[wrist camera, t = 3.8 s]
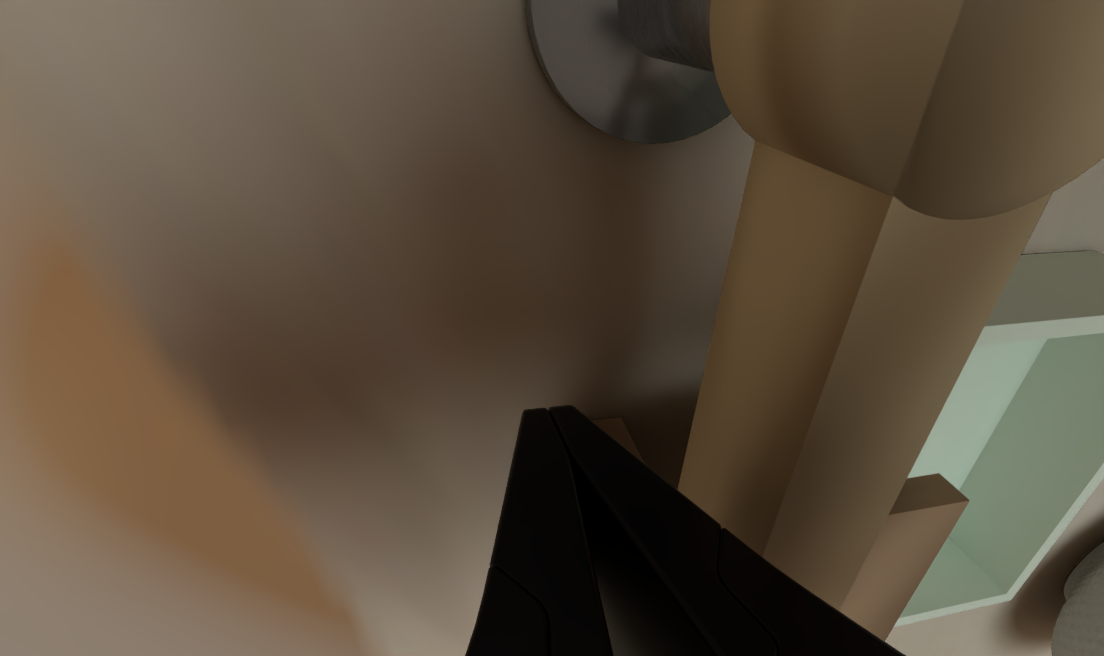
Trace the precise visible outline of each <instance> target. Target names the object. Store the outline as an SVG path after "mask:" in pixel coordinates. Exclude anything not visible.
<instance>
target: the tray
mask: <svg viewBox="0 0 1104 656" xmlns="http://www.w3.org/2000/svg"><path fill="white" fill-rule="evenodd" d="M937 473H940V474H941V475H942V476H943V477H944V478H945V479H946V480H947V481H949V482H950V483H951V484H952V485H953V486H954V487H955V488H956V489H958V490H959V491H960V492H961V493H962V494H963V495H964V496H965V497H967V498H968V499H969V500H970V501H969V503H968V505H967V506H966V508H965V510H964V511H963V513H962V515H961V516H960V518H959V520H958V521H957V523H956V524H955V526H954V528H953V529H952V531H951V533H950V534H949V536H948V538H947V539H946V541H945V543H944V544H943V546H942V548H941V549H940V551H939V553H938V554H937V556H936V557H935V559H934V561H933V562H932V564H931V566H930V567H929V569H928V571H927V572H926V574H925V576H924V577H923V579H922V581H921V582H920V584H919V586H918V587H917V589H916V590H915V592H914V594H913V595H912V597H911V599H910V600H909V602H908V604H907V605H906V607H905V609H904V610H903V612H902V614H901V615H900V617H899V619H898V620H897V622H896V623H895V625H894V627H897V626H901V625H905V624H910V623H914V622H918V621H923V620H927V619H931V618H936V617H940V616H944V615H949V614H953V613H957V612H962V611H966V610H970V609H975V608H979V607H983V606H988V605H992V604H996V603H1001V602H1005V601H1009V600H1012V598H1013V597H1014V596H1015V594H1016V593H1017V592H1018V590H1019V589H1020V588H1021V586H1022V585H1023V584H1024V582H1025V581H1026V580H1027V578H1028V577H1029V576H1030V574H1031V573H1032V572H1033V570H1034V569H1035V568H1036V567H1037V565H1038V564H1039V563H1040V561H1041V560H1042V559H1043V557H1044V556H1045V555H1046V553H1047V552H1048V551H1049V549H1050V548H1051V547H1052V545H1053V544H1054V543H1055V541H1056V540H1057V539H1058V537H1059V536H1060V535H1061V534H1062V532H1063V531H1064V530H1065V528H1066V527H1067V526H1068V524H1069V523H1070V522H1071V520H1072V519H1073V518H1074V516H1075V515H1076V514H1077V512H1078V511H1079V510H1080V508H1081V507H1082V506H1083V504H1084V503H1085V502H1086V500H1087V499H1088V498H1089V497H1090V495H1091V494H1092V493H1093V491H1094V490H1095V489H1096V487H1097V486H1098V485H1099V483H1100V482H1101V481H1102V479H1103V478H1104V254H1102V253H1099V252H1096V251H1077V252H1061V253H1044V254H1028V255H1021V256H1020V258H1019V260H1018V262H1017V264H1016V266H1015V267H1014V269H1013V271H1012V273H1011V275H1010V277H1009V279H1008V281H1007V283H1006V285H1005V287H1004V289H1003V291H1002V293H1001V295H1000V297H999V299H998V301H997V303H996V305H995V307H994V309H993V311H992V313H991V315H990V317H989V319H988V320H987V322H986V324H985V326H984V328H983V330H982V332H981V334H980V336H979V338H978V340H977V342H976V344H975V346H974V348H973V350H972V352H971V354H970V356H969V358H968V360H967V362H966V364H965V366H964V368H963V370H962V371H961V373H960V375H959V377H958V379H957V381H956V383H955V385H954V387H953V389H952V391H951V393H950V395H949V397H948V399H947V401H946V403H945V405H944V407H943V409H942V411H941V413H940V415H939V417H938V419H937V421H936V422H935V424H934V426H933V428H932V430H931V432H930V434H929V436H928V438H927V440H926V442H925V444H924V446H923V448H922V450H921V452H920V454H919V456H918V458H917V460H916V462H915V464H914V466H913V468H912V470H911V472H910V473H909V475H908V477H907V478H912V477H918V476H924V475H931V474H937Z"/></svg>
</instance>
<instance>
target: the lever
mask: <svg viewBox="0 0 1104 656" xmlns="http://www.w3.org/2000/svg"><path fill="white" fill-rule="evenodd" d="M710 45H711V54H712V62H713V66H714V70H715V75H716V79H717V82H718V85H719V88H720V90H721V93H722V96H723V98H724V101H725V102H726V104H727V106H728V108H729V110H730V112H731V113H732V115H733V117H734V118H735V119H736V121H737V122H738V123H739V125H740V126H741V127H742V128H743V130H744V131H745V132H746V133H748V134H749V135H750V136H751V137H752V138H753V139H754V140H755V146H754V150H753V155H752V159H751V164H750V168H749V172H748V177H747V181H746V186H745V190H744V195H743V199H742V204H741V208H740V213H739V217H738V222H737V226H736V231H735V235H734V240H733V244H732V249H731V253H730V257H729V262H728V266H727V271H726V275H725V280H724V284H723V289H722V293H721V298H720V302H719V307H718V311H717V316H716V320H715V325H714V329H713V333H712V338H711V342H710V347H709V351H708V356H707V360H706V365H705V369H704V374H703V378H702V383H701V387H700V392H699V396H698V401H697V405H696V409H695V414H694V418H693V423H692V427H691V432H690V436H689V441H688V445H687V450H686V454H685V459H684V463H683V468H682V472H681V477H680V481H679V486H678V491H680V492H681V493H682V494H683V495H685V496H686V497H687V498H688V499H690V500H691V501H692V502H693V503H695V504H696V505H697V506H698V507H699V508H701V509H702V510H703V511H704V512H706V513H707V514H708V515H709V516H711V517H712V518H713V519H714V520H716V521H717V522H718V523H719V524H720V525H721V529H722V528H726V529H727V530H728V531H730V532H731V533H732V534H733V535H735V536H736V537H737V538H738V539H740V540H741V541H742V542H743V543H745V544H746V545H747V546H748V547H750V548H751V549H752V550H754V551H755V552H756V553H758V554H759V555H760V556H761V557H763V558H764V559H765V560H767V561H768V562H769V563H771V564H772V565H773V566H775V567H776V568H777V569H779V570H780V571H782V572H783V573H784V574H786V575H787V576H789V577H790V578H792V579H793V580H794V581H796V582H797V583H799V584H800V585H802V586H803V587H804V588H806V589H807V590H809V591H810V592H812V593H813V594H815V595H816V596H817V597H819V598H820V599H822V600H823V601H825V602H826V603H828V604H829V605H831V606H832V607H834V608H835V609H837V610H838V611H840V609H841V607H842V605H843V603H844V601H845V599H846V597H847V595H848V593H849V591H850V589H851V587H852V585H853V583H854V581H855V579H856V577H857V575H858V574H859V572H860V570H861V568H862V566H863V564H864V562H865V560H866V558H867V556H868V554H869V552H870V550H871V548H872V546H873V544H874V542H875V540H876V538H877V536H878V534H879V532H880V530H881V528H882V526H883V524H884V523H885V521H886V519H887V517H888V515H889V513H890V511H891V509H892V507H893V505H894V503H895V501H896V499H897V497H898V495H899V493H900V491H901V489H902V487H903V485H904V483H905V481H906V479H907V477H908V475H909V473H910V472H911V470H912V468H913V466H914V464H915V462H916V460H917V458H918V456H919V454H920V452H921V450H922V448H923V446H924V444H925V442H926V440H927V438H928V436H929V434H930V432H931V430H932V428H933V426H934V424H935V422H936V421H937V419H938V417H939V415H940V413H941V411H942V409H943V407H944V405H945V403H946V401H947V399H948V397H949V395H950V393H951V391H952V389H953V387H954V385H955V383H956V381H957V379H958V377H959V375H960V373H961V371H962V370H963V368H964V366H965V364H966V362H967V360H968V358H969V356H970V354H971V352H972V350H973V348H974V346H975V344H976V342H977V340H978V338H979V336H980V334H981V332H982V330H983V328H984V326H985V324H986V322H987V320H988V319H989V317H990V315H991V313H992V311H993V309H994V307H995V305H996V303H997V301H998V299H999V297H1000V295H1001V293H1002V291H1003V289H1004V287H1005V285H1006V283H1007V281H1008V279H1009V277H1010V275H1011V273H1012V271H1013V269H1014V267H1015V266H1016V264H1017V262H1018V260H1019V258H1020V256H1021V254H1022V252H1023V250H1024V248H1025V246H1026V244H1027V242H1028V240H1029V238H1030V236H1031V234H1032V232H1033V230H1034V228H1035V226H1036V224H1037V222H1038V220H1039V218H1040V216H1041V215H1042V213H1043V211H1044V209H1045V207H1046V205H1047V203H1048V201H1049V199H1050V197H1051V195H1052V193H1053V192H1054V191H1056V190H1057V189H1059V188H1061V187H1062V186H1064V185H1066V184H1067V183H1069V182H1070V181H1072V180H1074V179H1075V178H1077V177H1078V176H1080V175H1081V174H1082V173H1084V172H1085V171H1086V170H1088V169H1089V168H1091V167H1092V166H1093V165H1095V164H1096V163H1097V162H1099V161H1100V160H1101V159H1102V158H1104V0H711V6H710Z"/></svg>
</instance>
